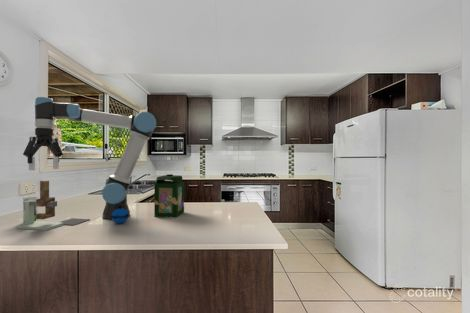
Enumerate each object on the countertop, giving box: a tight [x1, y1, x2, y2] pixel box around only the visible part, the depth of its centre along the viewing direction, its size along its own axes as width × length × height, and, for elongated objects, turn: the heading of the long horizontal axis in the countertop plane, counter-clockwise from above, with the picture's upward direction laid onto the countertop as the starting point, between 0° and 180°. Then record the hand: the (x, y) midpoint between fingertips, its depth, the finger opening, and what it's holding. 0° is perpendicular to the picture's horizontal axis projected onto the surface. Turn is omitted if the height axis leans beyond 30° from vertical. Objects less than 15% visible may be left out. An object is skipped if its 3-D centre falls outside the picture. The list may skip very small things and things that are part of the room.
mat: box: [59, 217, 91, 227], centre depth 145 cm, size 12×12×1 cm
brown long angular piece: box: [36, 180, 56, 220], centre depth 135 cm, size 4×7×19 cm, turn 169°
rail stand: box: [16, 200, 65, 231], centre depth 136 cm, size 18×10×13 cm, turn 79°
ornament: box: [111, 205, 130, 225], centre depth 143 cm, size 9×9×10 cm
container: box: [153, 173, 185, 219], centre depth 164 cm, size 15×18×25 cm
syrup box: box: [22, 194, 39, 224], centre depth 144 cm, size 6×6×14 cm
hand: (44, 169), depth 134 cm, fingers open, 13 cm apart
